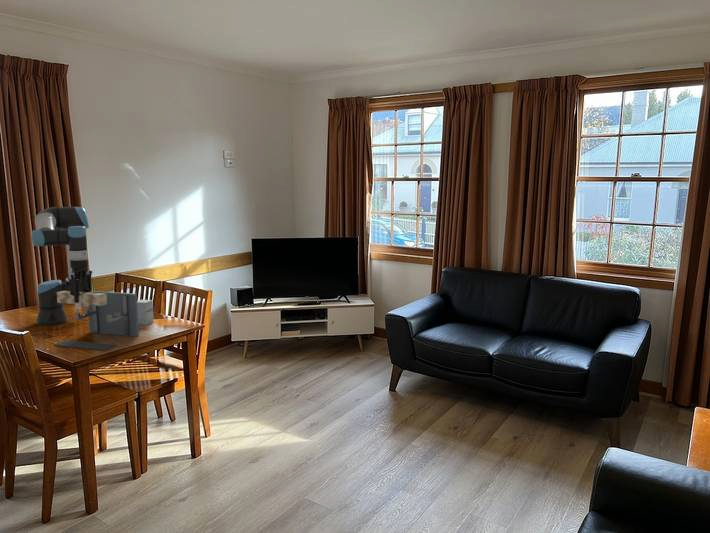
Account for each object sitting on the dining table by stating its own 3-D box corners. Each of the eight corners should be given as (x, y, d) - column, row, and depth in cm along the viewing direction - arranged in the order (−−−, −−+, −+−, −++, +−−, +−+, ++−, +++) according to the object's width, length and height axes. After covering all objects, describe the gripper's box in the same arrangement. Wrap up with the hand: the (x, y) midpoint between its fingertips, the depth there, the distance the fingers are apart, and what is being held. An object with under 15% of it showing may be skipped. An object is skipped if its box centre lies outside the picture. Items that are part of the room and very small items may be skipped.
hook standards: (76, 340, 260) (73, 299, 256) (96, 332, 273) (93, 293, 270) (111, 343, 255) (109, 301, 252) (130, 335, 269) (127, 295, 265)
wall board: (89, 332, 274) (87, 291, 271) (91, 331, 275) (89, 290, 272) (137, 336, 268) (134, 294, 264) (138, 335, 269) (136, 293, 266)
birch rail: (57, 302, 249) (56, 292, 248) (63, 300, 253) (63, 290, 252) (101, 305, 243) (100, 295, 243) (107, 303, 247) (106, 293, 247)
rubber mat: (53, 345, 251) (53, 344, 250) (66, 341, 258) (66, 339, 258) (104, 350, 245) (104, 349, 244) (116, 345, 252) (115, 344, 252)
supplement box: (146, 325, 289) (145, 302, 287) (134, 324, 291) (133, 302, 289) (154, 321, 296) (153, 300, 294) (142, 320, 298) (141, 299, 296)
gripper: (72, 262, 236) (75, 312, 239) (98, 257, 252) (101, 304, 256) (58, 261, 237) (62, 311, 241) (85, 256, 254) (88, 303, 257)
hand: (82, 307), depth 248 cm, fingers closed on birch rail, 4 cm apart
